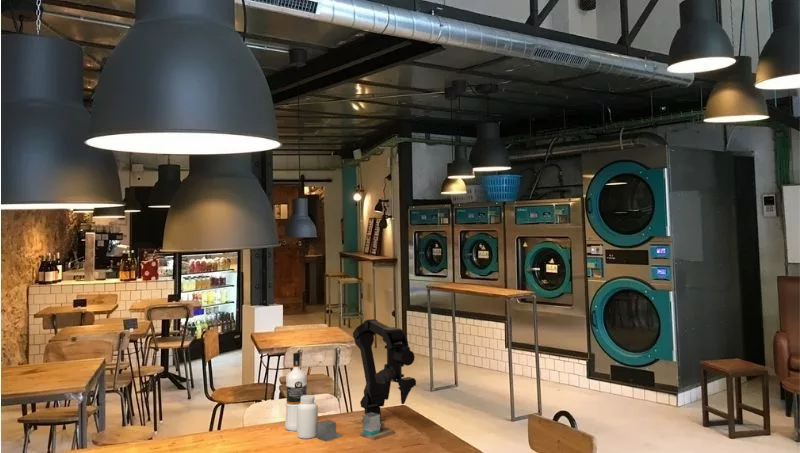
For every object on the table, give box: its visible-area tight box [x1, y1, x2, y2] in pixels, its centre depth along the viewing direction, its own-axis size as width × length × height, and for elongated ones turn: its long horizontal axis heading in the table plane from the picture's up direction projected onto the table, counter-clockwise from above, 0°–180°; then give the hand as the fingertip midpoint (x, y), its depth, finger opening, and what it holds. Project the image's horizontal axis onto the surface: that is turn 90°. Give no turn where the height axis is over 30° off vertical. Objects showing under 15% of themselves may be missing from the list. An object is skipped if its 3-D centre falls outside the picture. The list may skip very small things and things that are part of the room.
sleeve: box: [362, 412, 381, 436], centre depth 216 cm, size 5×5×7 cm
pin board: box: [359, 420, 395, 441], centre depth 218 cm, size 8×11×4 cm
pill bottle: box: [296, 394, 319, 439], centre depth 218 cm, size 8×8×15 cm
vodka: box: [284, 352, 308, 432], centre depth 228 cm, size 9×9×30 cm
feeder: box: [316, 419, 343, 442], centre depth 215 cm, size 5×8×6 cm, turn 137°
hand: (394, 401), depth 220 cm, fingers open, 9 cm apart
